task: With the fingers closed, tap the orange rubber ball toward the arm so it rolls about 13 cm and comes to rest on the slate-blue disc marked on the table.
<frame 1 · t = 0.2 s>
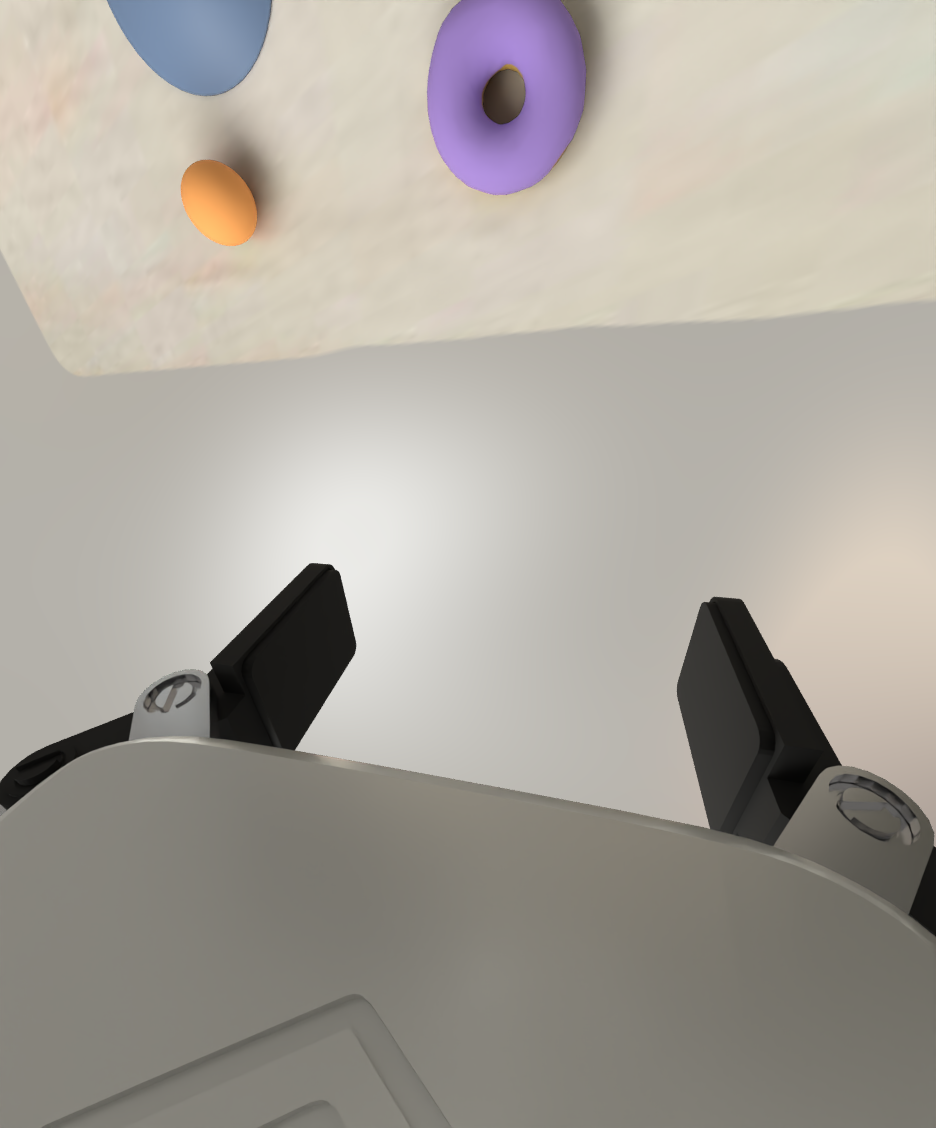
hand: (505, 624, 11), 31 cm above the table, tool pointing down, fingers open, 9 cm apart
donut: (508, 108, 29), on the table
ball: (220, 204, 33), on the table
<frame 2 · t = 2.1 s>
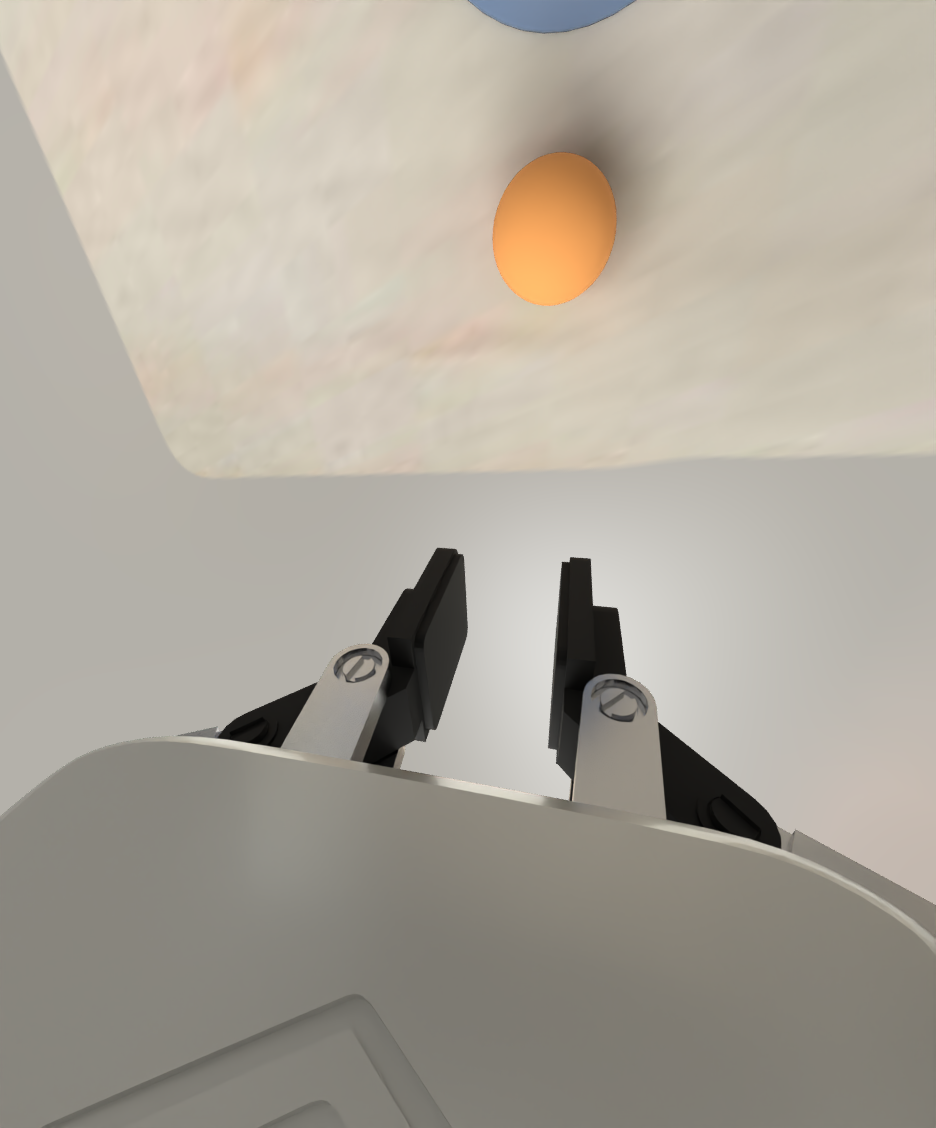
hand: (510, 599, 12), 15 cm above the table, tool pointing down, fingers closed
ball: (552, 235, 18), on the table
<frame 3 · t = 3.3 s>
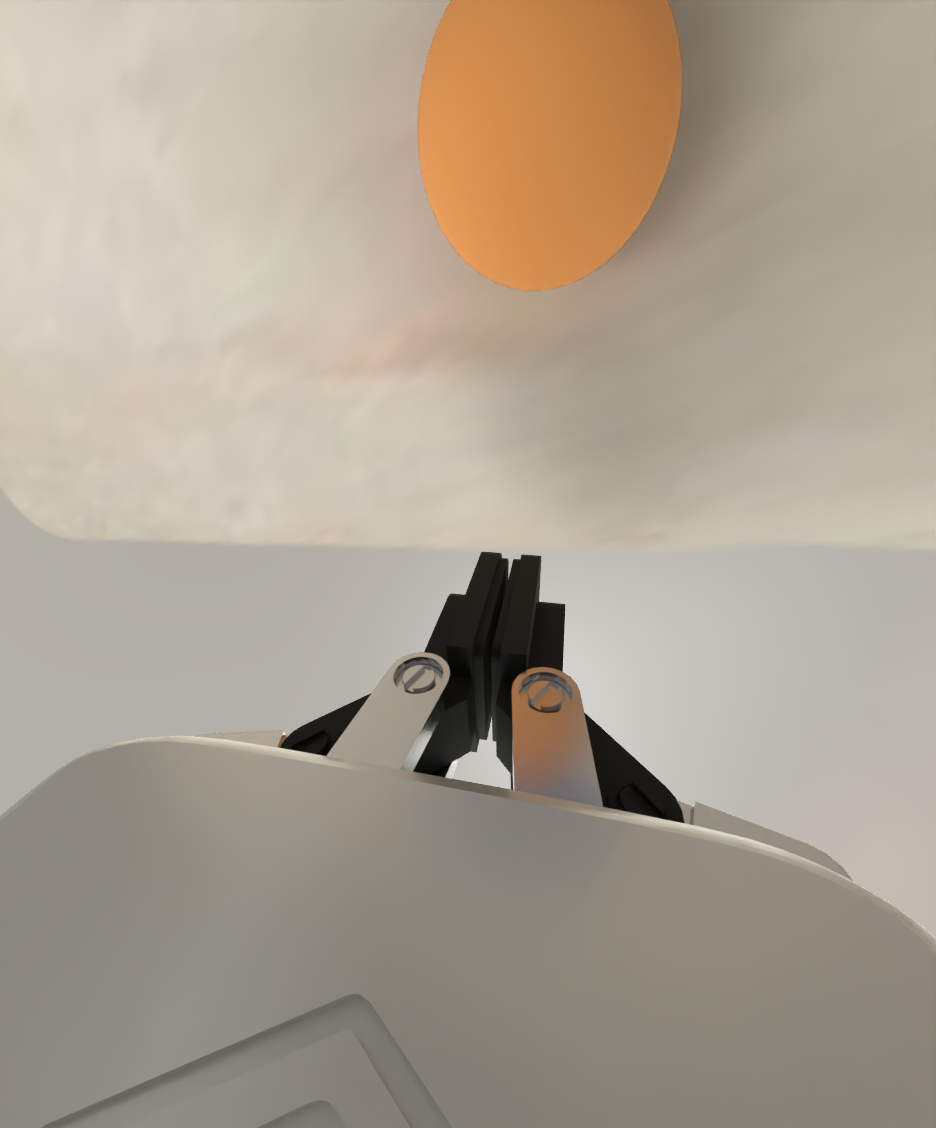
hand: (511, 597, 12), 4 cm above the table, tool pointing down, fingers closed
ball: (543, 143, 9), on the table
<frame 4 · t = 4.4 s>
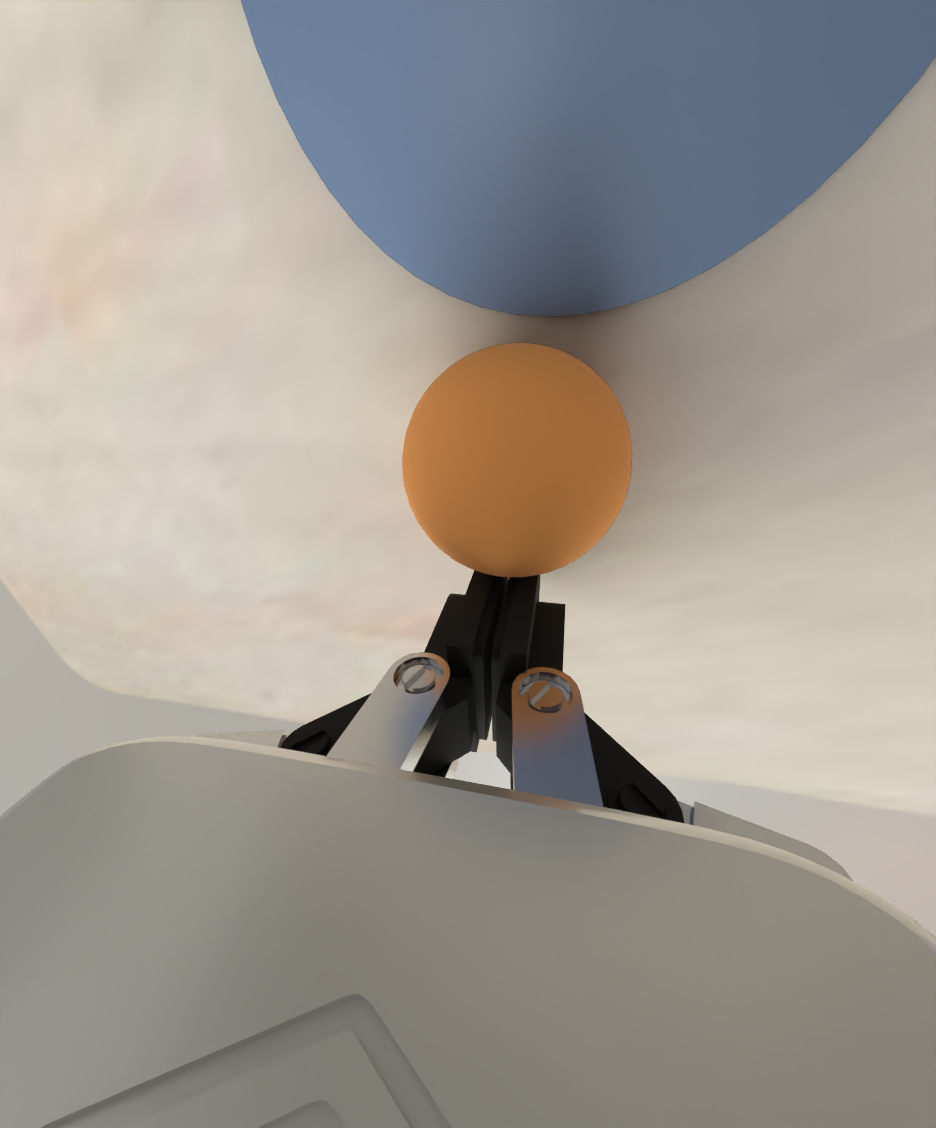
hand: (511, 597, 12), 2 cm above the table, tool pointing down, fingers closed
ball: (514, 467, 10), on the table, touching gripper
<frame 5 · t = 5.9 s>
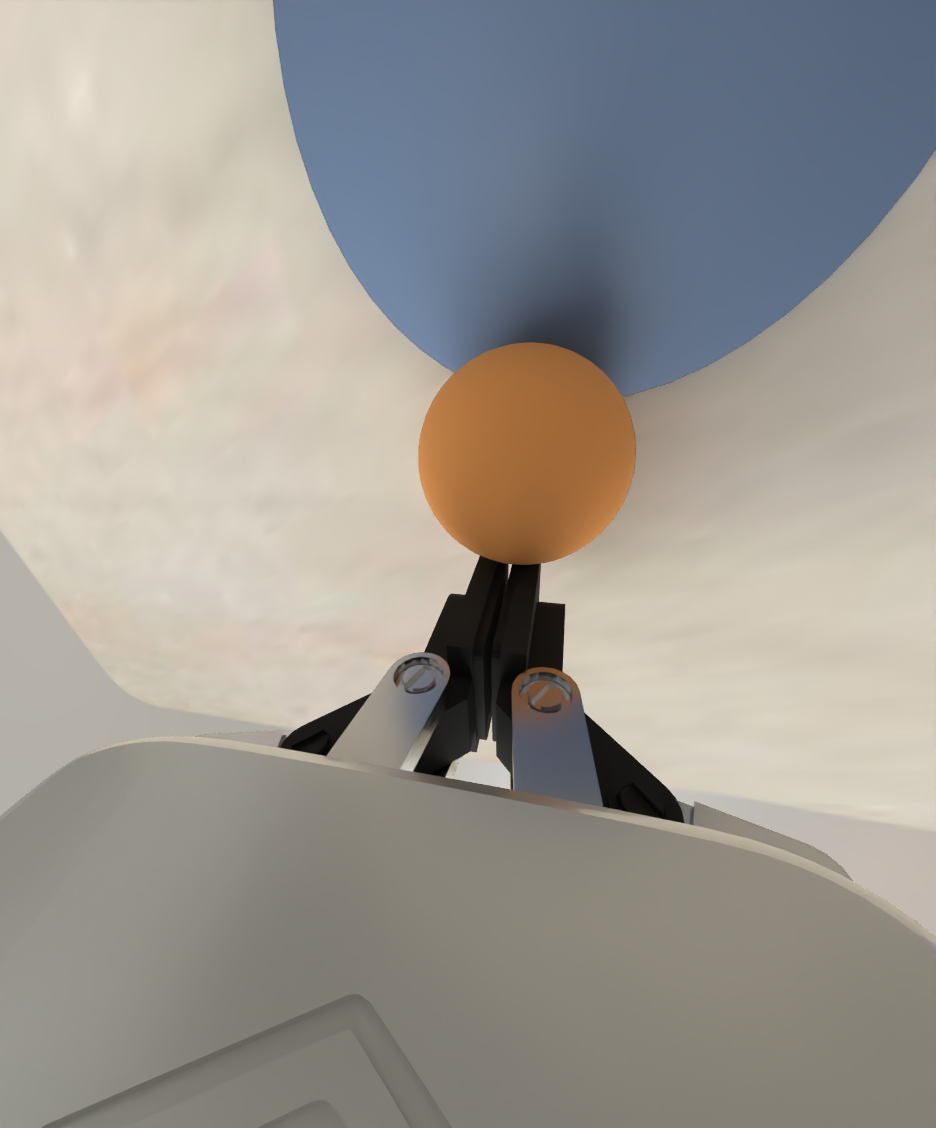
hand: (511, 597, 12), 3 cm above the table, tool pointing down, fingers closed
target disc: (593, 39, 8), on the table
ball: (523, 460, 10), on the table, touching gripper
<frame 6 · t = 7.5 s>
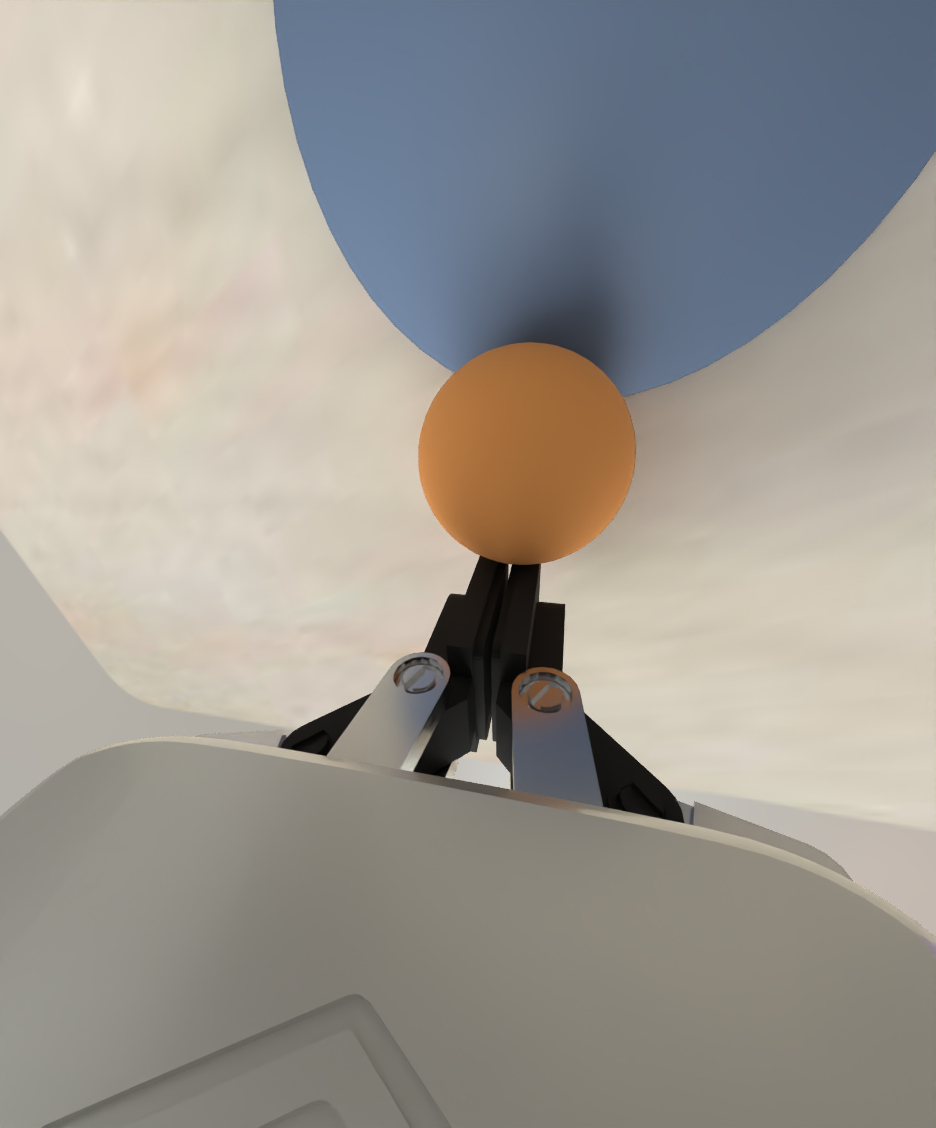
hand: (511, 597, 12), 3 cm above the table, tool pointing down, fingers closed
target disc: (593, 39, 8), on the table
ball: (523, 460, 10), on the table, touching gripper
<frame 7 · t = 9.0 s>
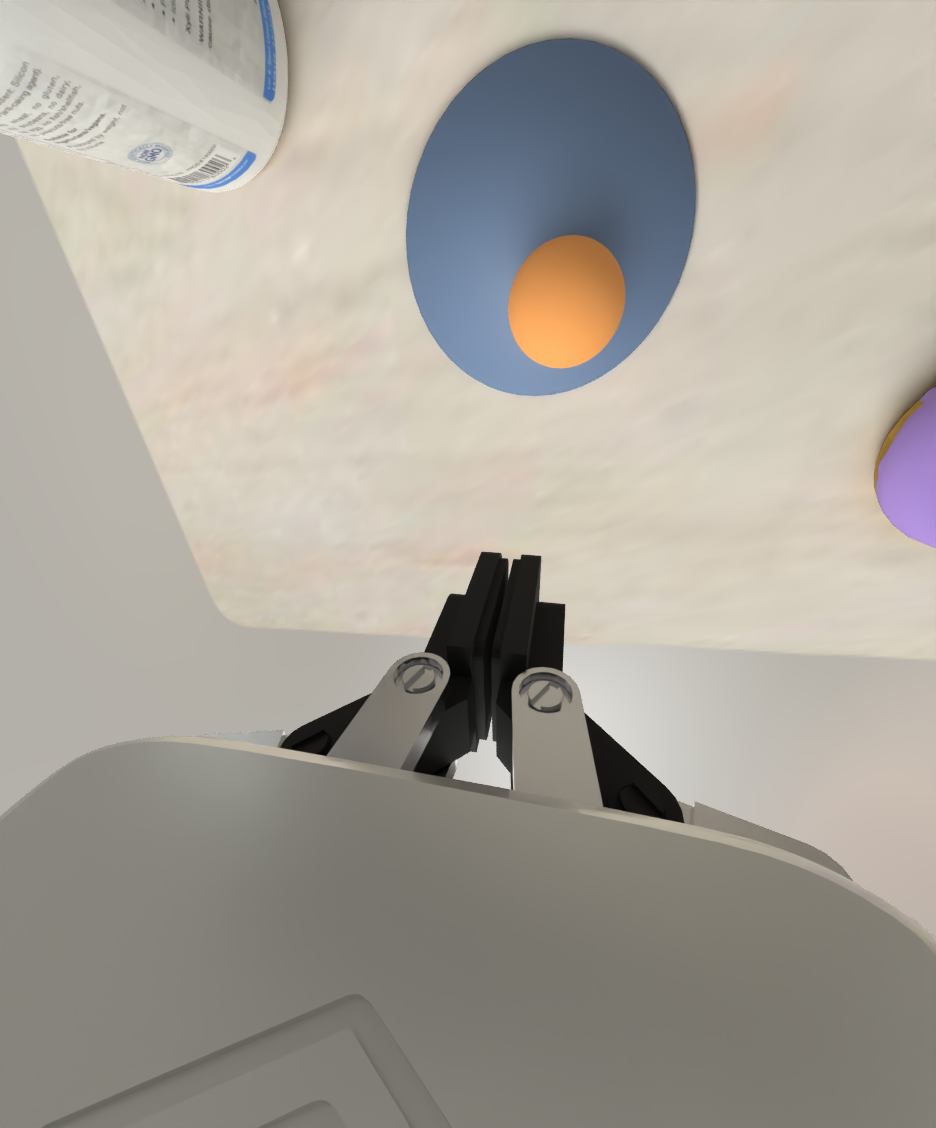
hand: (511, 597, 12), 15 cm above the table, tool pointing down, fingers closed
supplement tub: (202, 63, 19), on the table
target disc: (540, 247, 20), on the table
ball: (564, 306, 19), on the table
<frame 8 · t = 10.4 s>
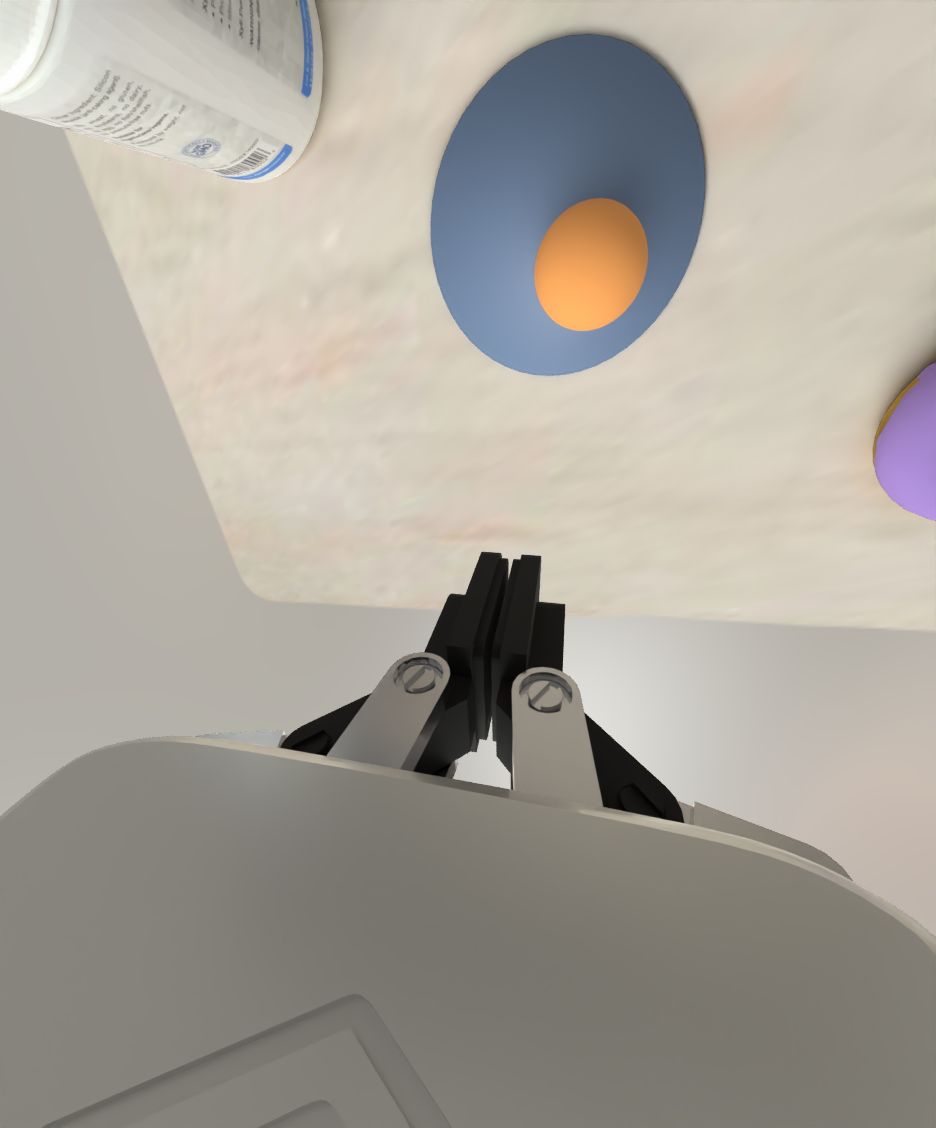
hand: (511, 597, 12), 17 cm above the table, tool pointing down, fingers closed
supplement tub: (241, 60, 21), on the table
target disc: (557, 233, 21), on the table
ball: (589, 269, 20), on the table
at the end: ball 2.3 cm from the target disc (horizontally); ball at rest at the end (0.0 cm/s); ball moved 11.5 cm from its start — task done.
